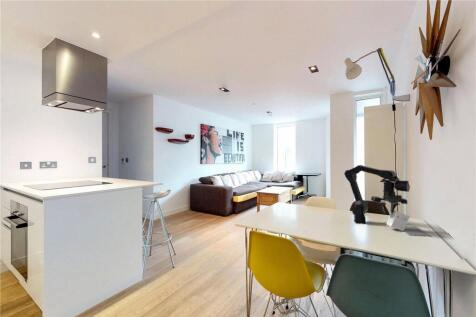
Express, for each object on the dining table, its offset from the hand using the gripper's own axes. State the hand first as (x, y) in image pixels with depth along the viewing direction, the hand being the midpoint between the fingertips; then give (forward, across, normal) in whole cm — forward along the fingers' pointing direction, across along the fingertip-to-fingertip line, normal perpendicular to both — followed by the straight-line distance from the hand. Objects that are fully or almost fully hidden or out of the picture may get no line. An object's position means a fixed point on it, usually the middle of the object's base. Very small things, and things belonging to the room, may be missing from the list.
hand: (388, 212), depth 135 cm
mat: (+10, +13, -1) cm, 17 cm away
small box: (+9, +3, -1) cm, 10 cm away
